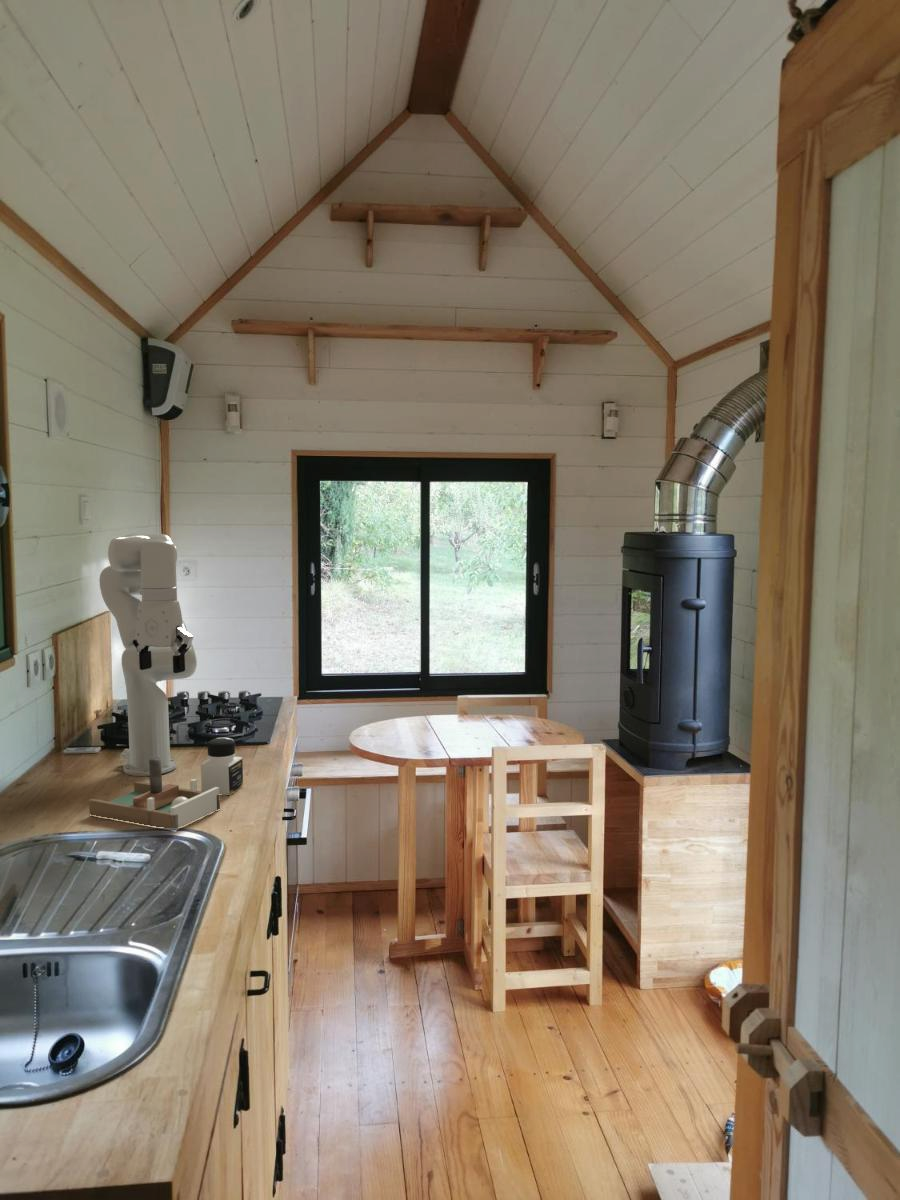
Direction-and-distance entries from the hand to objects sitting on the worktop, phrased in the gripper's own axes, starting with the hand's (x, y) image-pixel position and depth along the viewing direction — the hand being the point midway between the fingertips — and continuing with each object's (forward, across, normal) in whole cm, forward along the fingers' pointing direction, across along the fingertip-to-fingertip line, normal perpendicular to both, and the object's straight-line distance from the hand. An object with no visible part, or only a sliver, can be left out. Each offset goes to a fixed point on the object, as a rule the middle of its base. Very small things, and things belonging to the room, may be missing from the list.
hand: (162, 670), depth 197 cm
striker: (+26, +8, -12) cm, 30 cm away
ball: (+26, +15, -12) cm, 32 cm away
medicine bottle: (+28, +11, +6) cm, 31 cm away
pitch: (+28, +8, -12) cm, 32 cm away
